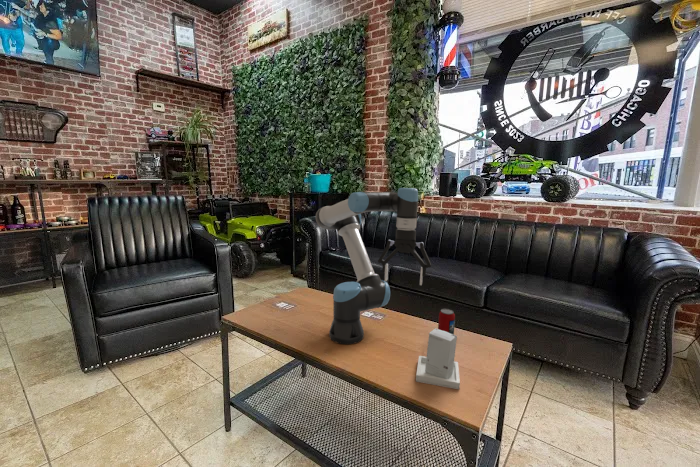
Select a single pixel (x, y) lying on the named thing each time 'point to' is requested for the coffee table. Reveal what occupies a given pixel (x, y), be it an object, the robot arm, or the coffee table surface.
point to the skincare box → (440, 353)
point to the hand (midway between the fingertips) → (403, 282)
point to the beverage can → (446, 321)
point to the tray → (434, 380)
